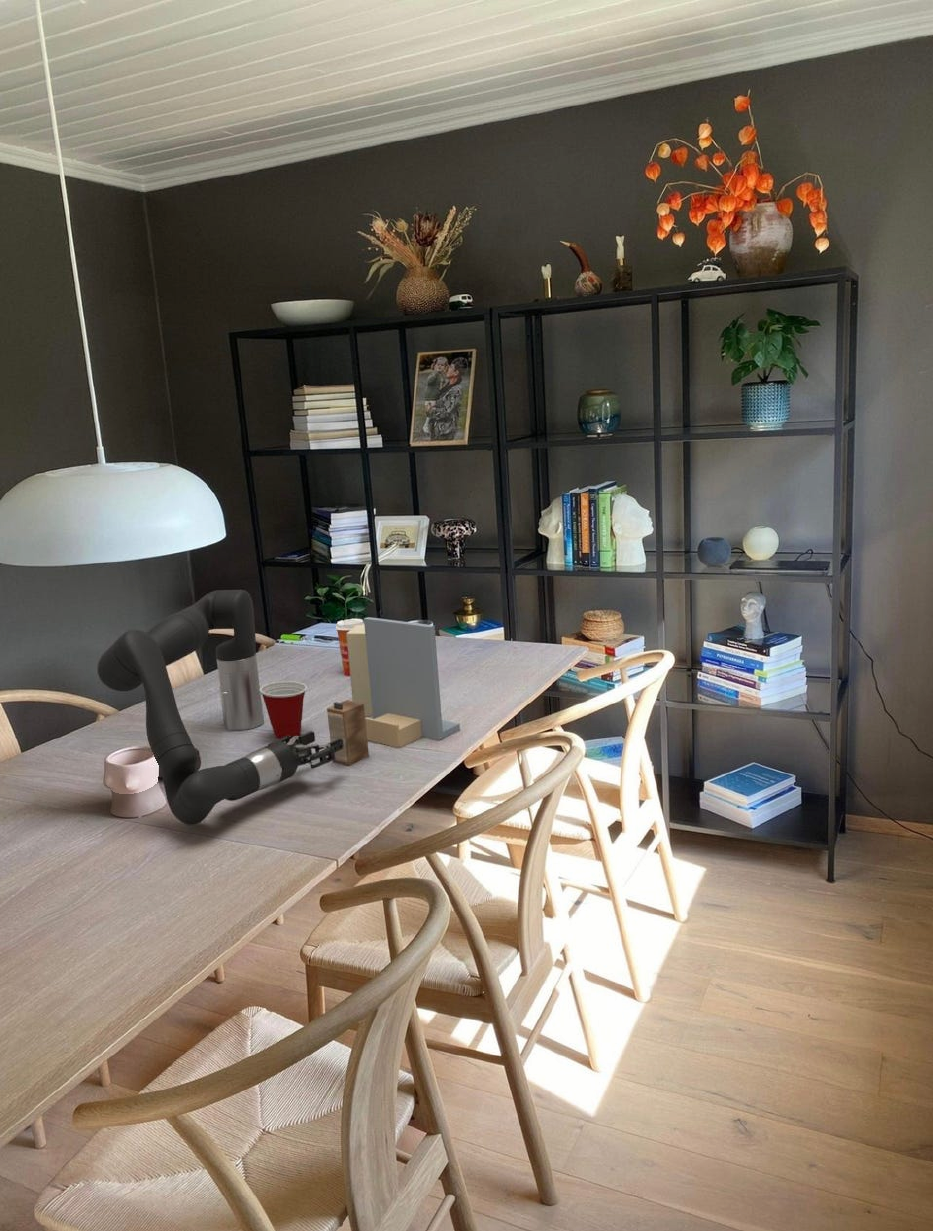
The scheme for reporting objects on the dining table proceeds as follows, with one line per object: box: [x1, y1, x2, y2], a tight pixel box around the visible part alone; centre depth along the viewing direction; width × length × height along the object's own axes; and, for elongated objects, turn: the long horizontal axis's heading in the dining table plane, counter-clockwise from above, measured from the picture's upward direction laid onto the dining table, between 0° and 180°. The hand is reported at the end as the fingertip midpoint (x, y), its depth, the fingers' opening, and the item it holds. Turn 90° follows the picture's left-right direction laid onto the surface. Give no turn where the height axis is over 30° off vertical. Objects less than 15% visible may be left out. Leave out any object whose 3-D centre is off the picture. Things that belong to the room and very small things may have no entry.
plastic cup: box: [259, 680, 308, 740], centre depth 217 cm, size 11×11×12 cm
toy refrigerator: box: [346, 625, 373, 717], centre depth 229 cm, size 8×7×21 cm
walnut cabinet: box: [326, 699, 370, 767], centre depth 199 cm, size 6×5×13 cm
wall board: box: [363, 616, 461, 749], centre depth 211 cm, size 15×20×26 cm
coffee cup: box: [335, 618, 364, 677], centre depth 263 cm, size 8×8×15 cm
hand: (327, 739), depth 194 cm, fingers open, 8 cm apart
